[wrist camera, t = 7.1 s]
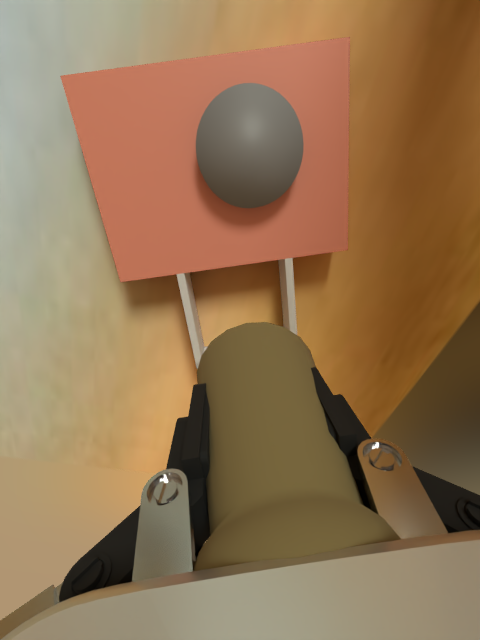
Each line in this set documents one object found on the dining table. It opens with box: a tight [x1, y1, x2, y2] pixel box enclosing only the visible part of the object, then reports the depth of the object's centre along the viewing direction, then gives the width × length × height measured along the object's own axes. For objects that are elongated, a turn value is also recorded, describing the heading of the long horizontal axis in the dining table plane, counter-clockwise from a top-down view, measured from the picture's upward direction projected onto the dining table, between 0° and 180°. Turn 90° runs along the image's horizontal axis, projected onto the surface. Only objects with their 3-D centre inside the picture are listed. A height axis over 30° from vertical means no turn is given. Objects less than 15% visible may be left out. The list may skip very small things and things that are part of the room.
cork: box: [194, 322, 401, 571], centre depth 9 cm, size 6×6×11 cm
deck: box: [61, 37, 350, 369], centre depth 22 cm, size 18×22×4 cm
